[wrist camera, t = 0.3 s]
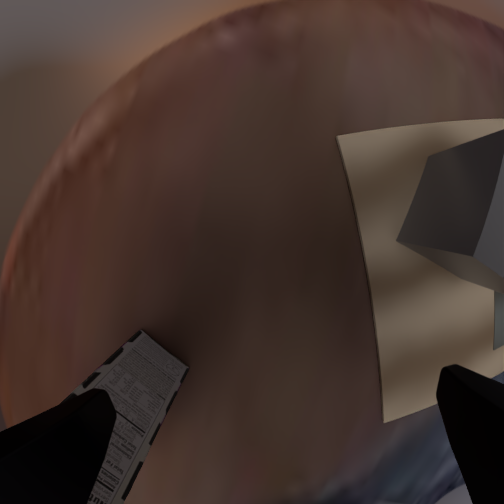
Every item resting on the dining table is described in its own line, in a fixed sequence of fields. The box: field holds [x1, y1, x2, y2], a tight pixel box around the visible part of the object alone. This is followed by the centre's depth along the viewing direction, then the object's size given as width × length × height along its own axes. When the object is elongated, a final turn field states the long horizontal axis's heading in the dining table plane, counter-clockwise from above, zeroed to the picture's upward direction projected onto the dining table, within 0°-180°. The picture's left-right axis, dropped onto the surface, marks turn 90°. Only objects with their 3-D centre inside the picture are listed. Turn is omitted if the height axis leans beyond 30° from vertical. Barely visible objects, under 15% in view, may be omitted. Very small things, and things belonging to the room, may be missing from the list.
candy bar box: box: [60, 330, 189, 504], centre depth 14 cm, size 11×5×16 cm, turn 143°
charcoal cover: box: [396, 129, 504, 294], centre depth 15 cm, size 7×7×9 cm
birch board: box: [336, 119, 504, 423], centre depth 20 cm, size 22×22×1 cm
